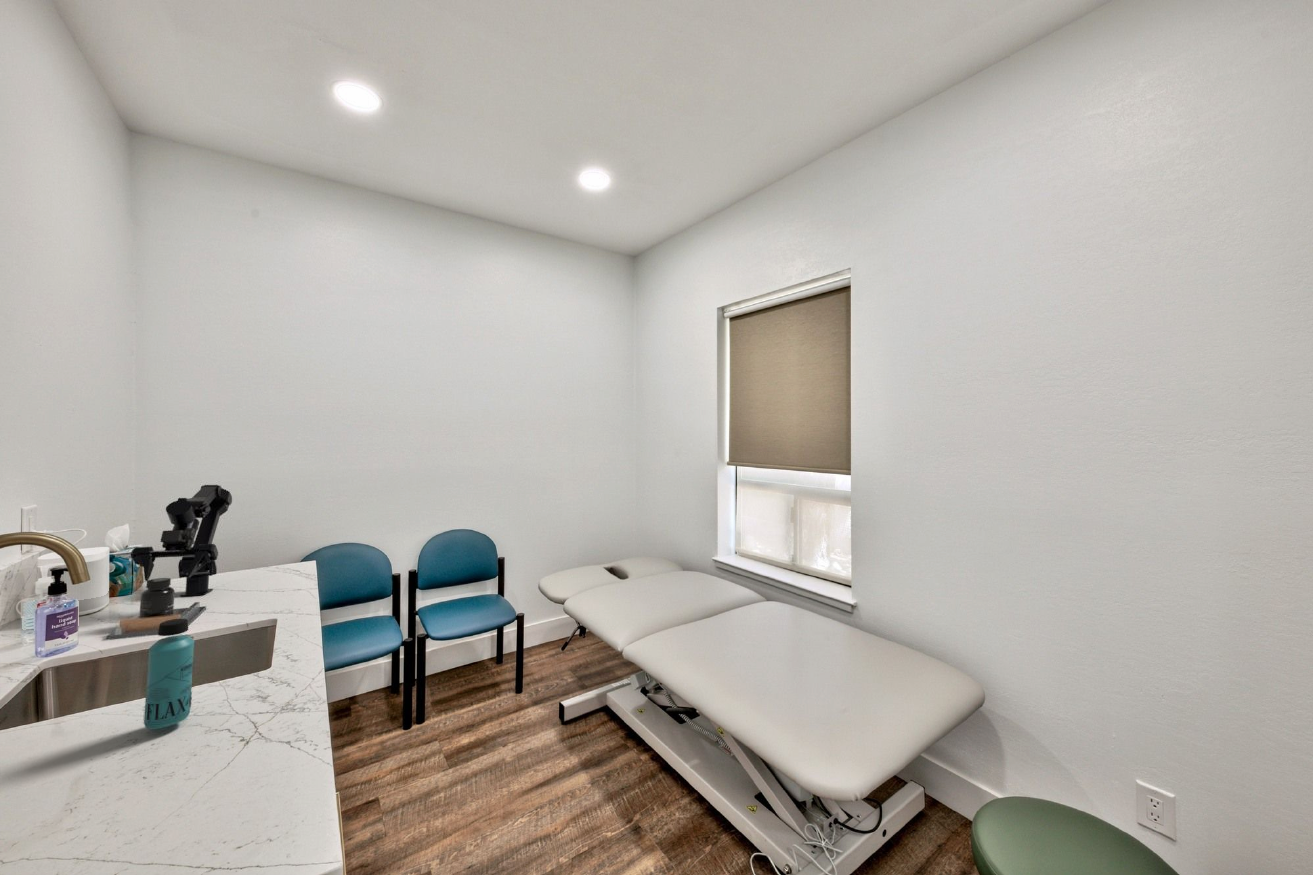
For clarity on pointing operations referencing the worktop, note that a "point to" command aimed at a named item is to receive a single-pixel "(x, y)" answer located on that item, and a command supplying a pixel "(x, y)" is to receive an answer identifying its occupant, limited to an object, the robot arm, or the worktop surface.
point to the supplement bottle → (157, 598)
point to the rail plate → (153, 622)
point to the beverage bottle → (169, 676)
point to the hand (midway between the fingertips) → (167, 578)
